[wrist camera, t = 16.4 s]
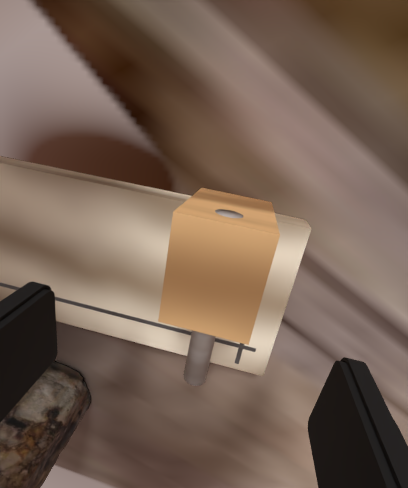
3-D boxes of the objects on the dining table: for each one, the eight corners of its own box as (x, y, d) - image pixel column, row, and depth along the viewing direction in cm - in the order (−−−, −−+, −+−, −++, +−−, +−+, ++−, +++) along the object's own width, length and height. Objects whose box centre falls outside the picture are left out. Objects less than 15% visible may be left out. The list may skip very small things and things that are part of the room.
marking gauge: (201, 187, 16) (173, 211, 11) (271, 202, 16) (280, 234, 10) (179, 318, 19) (148, 388, 14) (237, 332, 19) (229, 411, 13)
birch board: (-11, 153, 20) (-38, 154, 18) (305, 219, 18) (311, 228, 16) (2, 288, 24) (-19, 301, 22) (262, 356, 22) (263, 376, 20)
